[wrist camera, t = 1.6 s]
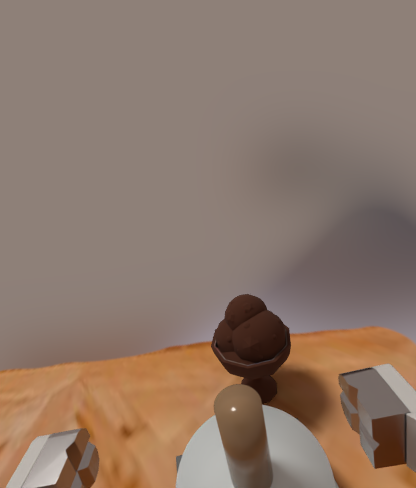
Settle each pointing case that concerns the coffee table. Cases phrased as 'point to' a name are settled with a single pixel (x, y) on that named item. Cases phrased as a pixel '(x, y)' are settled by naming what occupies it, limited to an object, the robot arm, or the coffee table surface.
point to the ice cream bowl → (252, 344)
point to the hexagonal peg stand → (252, 448)
